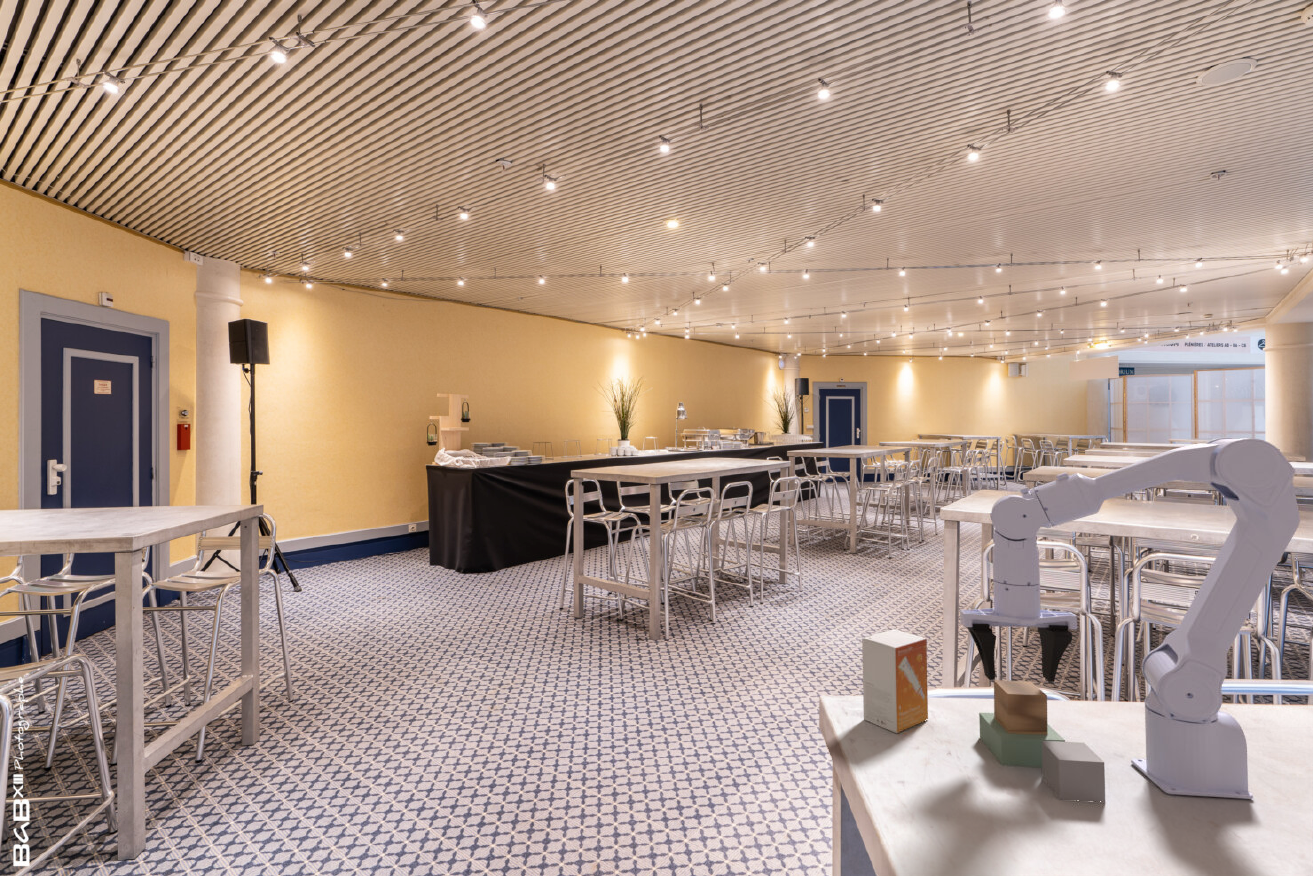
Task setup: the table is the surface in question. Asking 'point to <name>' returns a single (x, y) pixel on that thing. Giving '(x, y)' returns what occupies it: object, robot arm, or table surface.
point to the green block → (1014, 742)
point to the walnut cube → (1020, 706)
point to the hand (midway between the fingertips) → (1018, 678)
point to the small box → (895, 680)
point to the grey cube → (1073, 771)
